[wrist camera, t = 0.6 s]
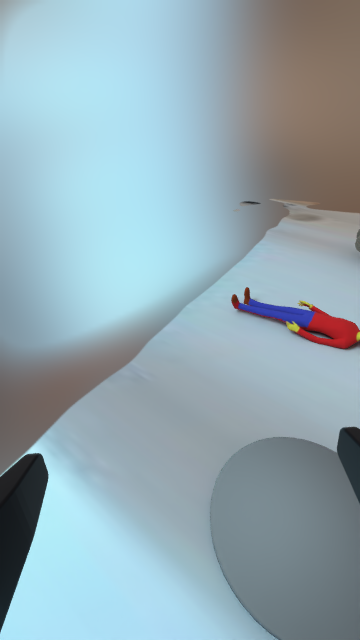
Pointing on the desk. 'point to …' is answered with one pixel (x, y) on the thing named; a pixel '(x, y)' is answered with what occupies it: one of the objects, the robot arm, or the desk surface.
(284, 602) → the pad
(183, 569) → the desk surface
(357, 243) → the figurine character
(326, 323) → the character figure
